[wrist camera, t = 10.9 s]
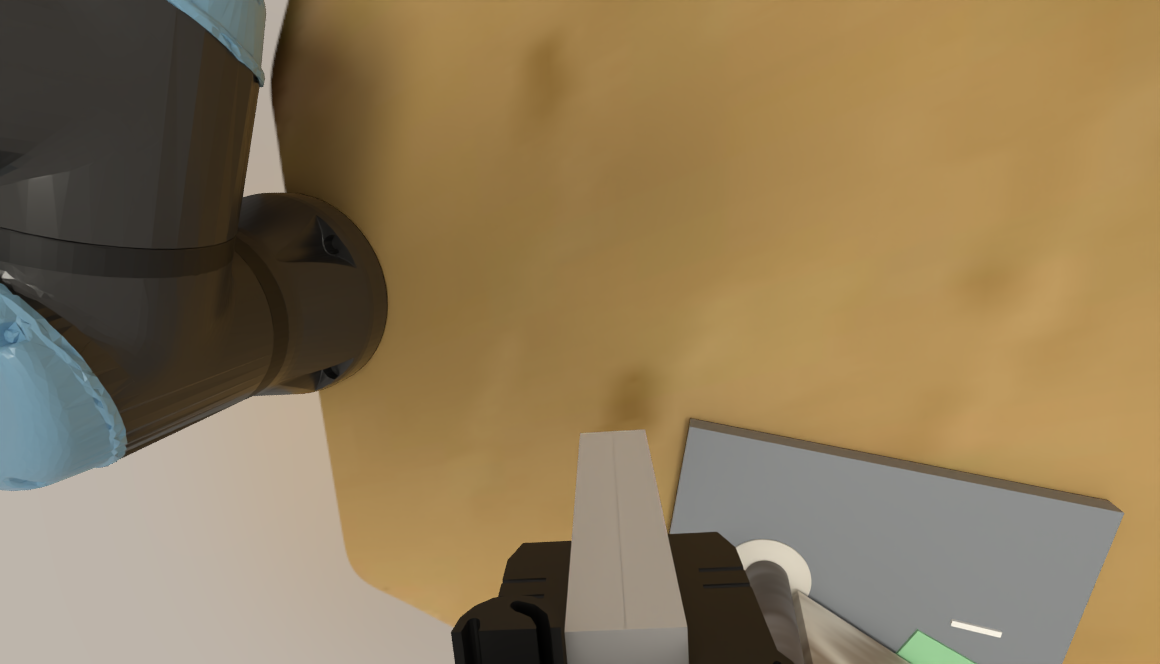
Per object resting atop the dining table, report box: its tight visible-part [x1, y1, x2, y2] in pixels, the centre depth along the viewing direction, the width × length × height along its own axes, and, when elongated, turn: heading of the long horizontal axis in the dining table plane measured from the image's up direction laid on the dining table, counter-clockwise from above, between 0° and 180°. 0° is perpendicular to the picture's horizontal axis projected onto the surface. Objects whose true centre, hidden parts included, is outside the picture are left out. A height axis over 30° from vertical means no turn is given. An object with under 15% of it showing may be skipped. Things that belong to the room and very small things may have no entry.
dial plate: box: [669, 419, 1124, 664], centre depth 41 cm, size 26×21×2 cm
